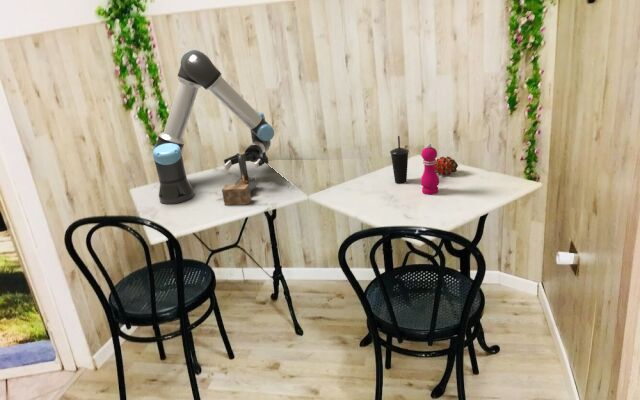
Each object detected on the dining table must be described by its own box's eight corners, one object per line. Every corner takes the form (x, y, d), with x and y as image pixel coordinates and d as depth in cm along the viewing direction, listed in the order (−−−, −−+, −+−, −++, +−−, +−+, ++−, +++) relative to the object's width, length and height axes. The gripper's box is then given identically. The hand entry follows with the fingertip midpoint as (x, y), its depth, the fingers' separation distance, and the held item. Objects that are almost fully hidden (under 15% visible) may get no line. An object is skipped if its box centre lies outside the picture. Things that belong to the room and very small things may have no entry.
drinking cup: (411, 184, 217) (409, 138, 210) (392, 185, 218) (390, 139, 210) (408, 177, 224) (406, 132, 217) (390, 179, 225) (388, 134, 217)
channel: (234, 197, 225) (232, 186, 223) (242, 188, 234) (240, 177, 232) (249, 196, 224) (248, 185, 222) (256, 187, 233) (254, 177, 231)
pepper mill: (439, 195, 204) (438, 146, 196) (420, 195, 205) (419, 147, 198) (439, 188, 210) (438, 140, 203) (421, 188, 212) (419, 141, 204)
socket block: (224, 205, 218) (221, 189, 215) (228, 200, 222) (225, 185, 220) (247, 204, 216) (244, 188, 213) (251, 199, 220) (248, 184, 218)
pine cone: (460, 179, 221) (432, 181, 226) (460, 162, 226) (432, 165, 231) (456, 167, 215) (427, 171, 220) (456, 151, 219) (428, 154, 224)
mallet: (232, 200, 218) (226, 166, 212) (243, 186, 232) (237, 154, 226) (241, 199, 217) (235, 165, 212) (251, 186, 231) (246, 154, 225)
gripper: (281, 158, 241) (269, 174, 222) (230, 160, 246) (214, 176, 227) (279, 142, 238) (267, 158, 219) (228, 145, 243) (211, 160, 224)
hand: (240, 167), depth 223 cm, fingers open, 13 cm apart
